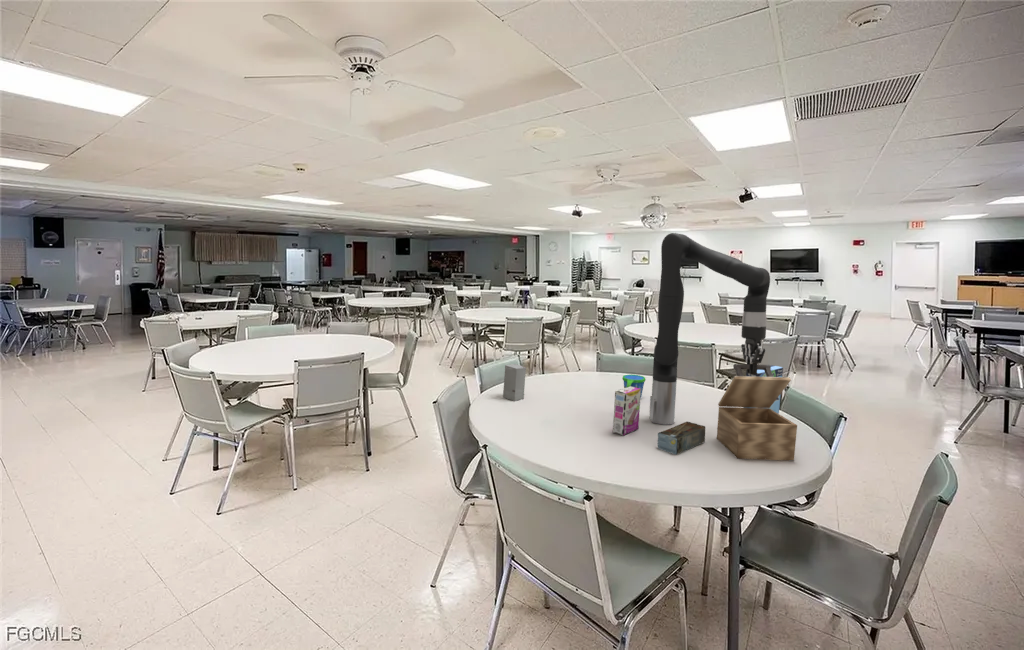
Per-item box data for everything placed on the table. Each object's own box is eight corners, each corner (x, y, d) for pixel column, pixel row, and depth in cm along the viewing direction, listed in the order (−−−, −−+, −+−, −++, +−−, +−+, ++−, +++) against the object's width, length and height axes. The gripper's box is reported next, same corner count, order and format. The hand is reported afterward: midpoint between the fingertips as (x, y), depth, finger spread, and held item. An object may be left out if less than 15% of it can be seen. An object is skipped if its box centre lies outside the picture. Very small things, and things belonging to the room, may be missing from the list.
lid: (735, 378, 155) (728, 357, 160) (718, 406, 168) (713, 385, 174) (790, 380, 154) (782, 358, 159) (769, 407, 167) (762, 387, 173)
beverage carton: (655, 448, 160) (656, 430, 159) (685, 436, 172) (686, 419, 171) (676, 456, 154) (677, 437, 153) (705, 443, 166) (707, 425, 165)
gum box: (766, 418, 194) (771, 364, 191) (779, 421, 189) (784, 367, 187) (740, 426, 183) (745, 370, 180) (753, 430, 179) (758, 372, 176)
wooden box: (737, 458, 152) (740, 423, 150) (716, 438, 170) (718, 407, 168) (793, 460, 151) (797, 425, 149) (766, 440, 169) (769, 408, 167)
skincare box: (502, 397, 219) (503, 365, 217) (513, 395, 224) (514, 363, 222) (514, 401, 213) (515, 368, 211) (525, 398, 218) (526, 366, 216)
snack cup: (636, 403, 213) (637, 381, 212) (615, 399, 220) (616, 378, 218) (649, 396, 225) (650, 375, 224) (629, 392, 232) (630, 372, 230)
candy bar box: (623, 436, 171) (625, 393, 169) (612, 432, 174) (614, 390, 172) (639, 429, 179) (641, 388, 177) (628, 426, 182) (630, 385, 180)
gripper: (734, 323, 168) (732, 370, 170) (751, 326, 155) (749, 377, 156) (755, 323, 168) (753, 370, 169) (775, 326, 154) (772, 377, 156)
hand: (751, 373), depth 163 cm, fingers closed on lid, 2 cm apart
